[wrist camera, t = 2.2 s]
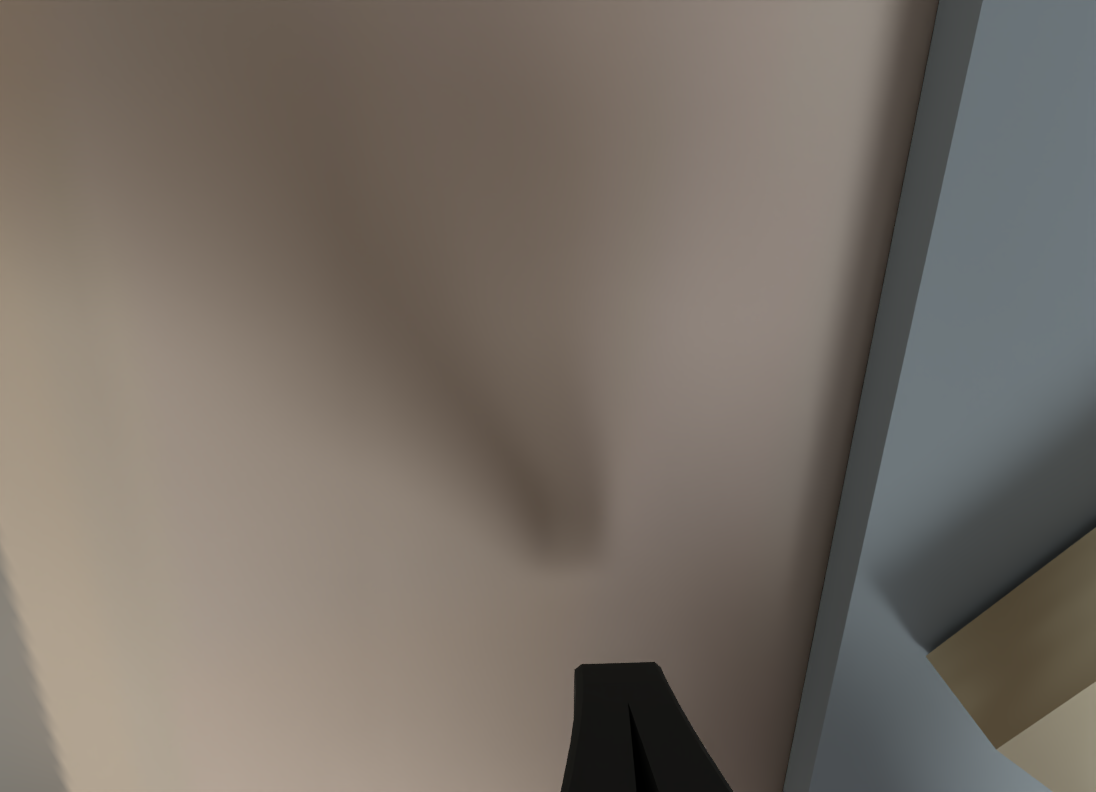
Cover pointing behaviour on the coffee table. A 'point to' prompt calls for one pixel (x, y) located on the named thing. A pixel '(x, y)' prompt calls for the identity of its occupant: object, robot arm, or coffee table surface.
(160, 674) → the coffee table surface
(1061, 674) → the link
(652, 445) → the coffee table surface
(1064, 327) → the board
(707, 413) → the coffee table surface
